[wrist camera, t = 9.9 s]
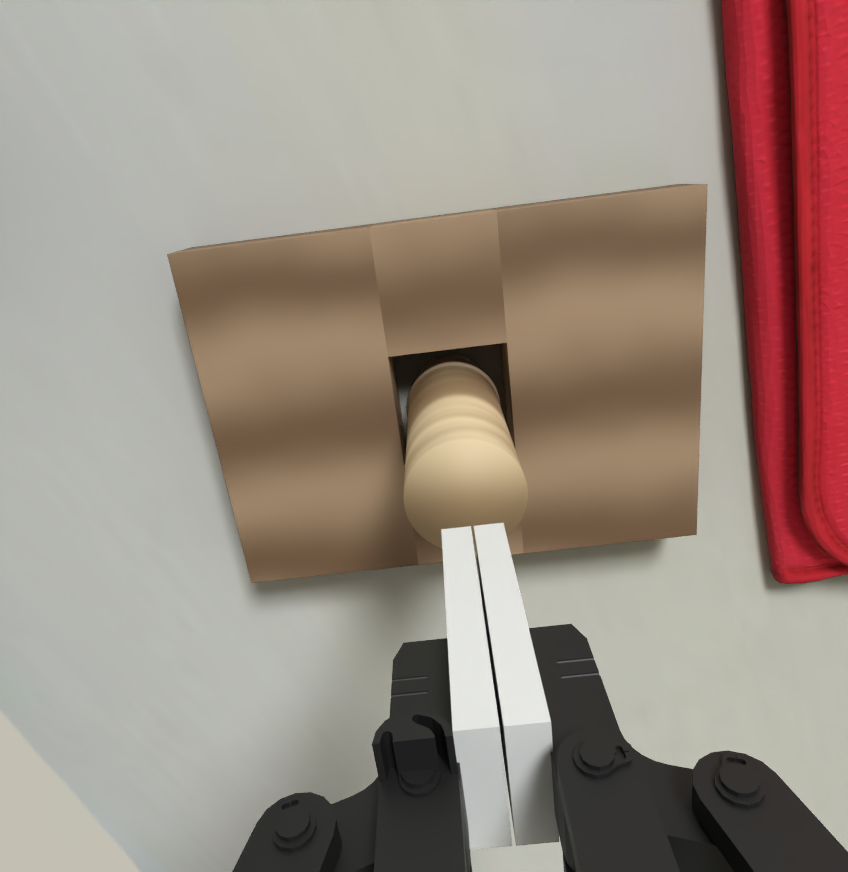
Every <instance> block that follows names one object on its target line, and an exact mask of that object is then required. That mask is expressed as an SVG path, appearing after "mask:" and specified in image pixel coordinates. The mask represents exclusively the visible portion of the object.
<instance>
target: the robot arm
mask: <svg viewBox="0 0 848 872" xmlns="http://www.w3.org/2000/svg"><path fill="white" fill-rule="evenodd" d="M441 533H442V550H443V568H444V586H445V604H446V622H447V638H446V639H436V640H426V641H416V642H407V643H403V645H402V646H401V648H400V650H399V651H398V653H397V655H396V656H395V658H394V660H393V672H392V689H391V705H390V718H389V719H387V720H386V721H384V723H383V724H382V725H381V726H380V727H379V729H378V730H377V731H376V733H375V736H374V739H373V743H372V746H373V751H374V756H375V761H376V766H377V771H378V777H377V779H376V780H375V781H374V782H373V783H372V784H371V785H369V786H368V787H367V788H366V789H364V790H363V791H361V792H359V793H357V794H355V795H353V796H351V797H349V798H346V799H344V800H341V801H339V802H336V803H334V804H330V803H329V802H328V801H327V800H326V799H325V798H324V797H323V796H320V795H317V794H314V793H311V792H309V793H295V794H292V795H290V796H287V797H285V798H282V799H280V800H279V801H277V802H276V803H275V804H273V805H272V806H271V807H270V808H268V809H267V810H266V811H265V813H264V814H263V815H262V817H261V818H260V820H259V821H258V822H257V824H256V826H255V828H254V830H253V832H252V834H251V836H250V838H249V840H248V842H247V844H246V846H245V848H244V850H243V852H242V854H241V856H240V858H239V860H238V862H237V864H236V866H235V868H234V870H233V872H472V867H471V858H470V850H472V849H483V848H494V847H506V846H512V839H511V830H510V821H509V811H508V802H507V792H506V783H505V773H504V764H505V771H506V778H507V785H508V792H509V799H510V806H511V813H512V820H513V828H514V835H515V842H516V846H517V845H528V844H539V843H550V842H559V836H560V841H561V846H562V850H563V862H564V872H848V852H847V851H846V850H845V849H844V847H843V846H842V845H841V844H840V843H839V842H838V841H837V840H836V839H835V838H834V836H833V835H832V834H831V833H830V832H829V831H828V830H827V829H826V828H825V827H824V825H823V824H822V823H821V822H820V821H819V820H818V819H817V818H816V817H815V816H814V814H813V813H812V812H811V811H810V810H809V809H808V808H807V807H806V806H805V805H804V803H803V802H802V801H801V800H800V799H799V798H798V797H797V796H796V795H795V794H794V792H793V791H792V790H791V789H790V788H789V787H788V786H787V785H786V784H785V783H784V781H783V780H782V779H781V778H780V777H779V776H778V775H777V774H776V773H775V772H774V771H773V770H771V769H770V768H769V767H768V766H767V765H765V764H764V763H763V762H762V761H759V760H757V759H755V758H753V757H751V756H748V755H746V754H743V753H737V752H732V751H721V752H713V753H710V754H708V755H706V756H704V757H703V758H701V759H699V761H698V762H697V764H696V766H695V767H694V769H689V768H683V767H678V766H672V765H667V764H663V763H660V762H656V761H653V760H651V759H649V758H647V757H645V756H643V755H641V754H640V753H639V752H637V751H636V750H635V749H633V748H632V746H631V745H630V744H629V743H628V742H627V741H626V740H625V739H624V737H623V735H622V733H621V731H620V729H619V727H618V724H617V721H616V718H615V715H614V713H613V710H612V707H611V704H610V702H609V699H608V696H607V693H606V691H605V688H604V685H603V682H602V679H601V677H600V676H599V671H598V668H597V666H596V663H595V660H594V658H593V655H592V652H591V649H590V646H589V643H588V641H587V638H586V637H584V636H583V635H582V634H581V633H580V632H579V631H578V630H577V629H576V628H575V627H574V626H573V625H572V624H566V625H556V626H547V627H537V628H529V627H528V623H527V619H526V615H525V611H524V606H523V602H522V598H521V594H520V590H519V585H518V581H517V577H516V573H515V569H514V565H513V560H512V556H511V552H510V548H509V544H508V540H507V535H506V531H505V527H504V523H495V524H486V525H477V526H474V534H475V543H476V552H477V561H478V570H479V579H478V572H477V565H476V558H475V551H474V544H473V537H472V530H471V526H468V527H459V528H450V529H441ZM479 580H480V586H479ZM480 589H481V593H480ZM481 598H482V600H481ZM501 743H502V745H501ZM502 750H503V754H502ZM503 757H504V764H503Z"/></svg>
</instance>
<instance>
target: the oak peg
mask: <svg viewBox="0 0 848 872" xmlns="http://www.w3.org/2000/svg"><path fill="white" fill-rule="evenodd" d="M406 409H407V417H408V428H407V445H406V462H405V479H404V496H403V499H404V507H405V512H406V514H407V517H408V519H409V521H410V523H411V525H412V526H413V527H414V529H415V530H416V531H417V532H418V533H419V534H420V535H421V536H422V537H423V538H424V539H426V540H427V541H428V542H430V543H432V544H434V545H436V546H438V547H440V548H442V533H441V529H450V528H459V527H468V526H471V530H472V537H473V544H474V551H476V543H475V534H474V526H477V525H486V524H495V523H504V527H505V531H506V535H507V536H509V535H510V534H511V533H512V532H513V531H514V529H515V528H516V527H517V526H518V524H519V523H520V521H521V520H522V518H523V515H524V513H525V510H526V507H527V501H528V488H527V482H526V479H525V476H524V473H523V470H522V467H521V464H520V461H519V459H518V456H517V453H516V450H515V447H514V444H513V441H512V438H511V436H510V433H509V430H508V427H507V424H506V421H505V418H504V415H503V413H502V410H501V407H500V398H499V394H498V391H497V389H496V387H495V384H494V383H493V381H492V380H491V378H490V377H489V376H488V375H487V374H486V373H485V372H484V371H482V370H481V369H479V367H478V366H477V365H476V364H475V363H474V362H473V361H471V360H470V359H468V358H466V357H464V356H461V355H456V354H446V355H441V356H438V357H436V358H434V359H432V360H431V361H429V362H428V363H427V364H426V365H425V366H424V367H423V368H422V370H421V371H420V373H419V375H418V378H417V379H416V380H415V381H414V383H413V385H412V386H411V388H410V391H409V394H408V398H407V407H406Z"/></svg>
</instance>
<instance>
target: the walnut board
mask: <svg viewBox="0 0 848 872" xmlns="http://www.w3.org/2000/svg"><path fill="white" fill-rule="evenodd" d="M706 212H707V184H676V185H668V186H661V187H653V188H645V189H638V190H630V191H622V192H615V193H607V194H599V195H591V196H584V197H576V198H568V199H561V200H553V201H545V202H538V203H530V204H522V205H515V206H507V207H499V208H492V209H484V210H476V211H469V212H461V213H453V214H445V215H438V216H430V217H422V218H415V219H407V220H399V221H392V222H384V223H376V224H369V225H361V226H353V227H346V228H338V229H330V230H322V231H315V232H307V233H299V234H292V235H284V236H276V237H269V238H261V239H253V240H246V241H238V242H230V243H223V244H215V245H207V246H199V247H192V248H188V249H184V250H181V251H177V252H174V253H170V254H167V256H168V259H169V263H170V267H171V271H172V275H173V279H174V283H175V287H176V291H177V294H178V298H179V302H180V306H181V310H182V314H183V318H184V322H185V326H186V329H187V333H188V337H189V341H190V345H191V349H192V353H193V357H194V361H195V364H196V368H197V372H198V376H199V380H200V384H201V388H202V392H203V396H204V399H205V403H206V407H207V411H208V415H209V419H210V423H211V427H212V431H213V435H214V438H215V442H216V446H217V450H218V454H219V458H220V462H221V466H222V470H223V473H224V477H225V481H226V485H227V489H228V493H229V497H230V501H231V505H232V508H233V512H234V516H235V520H236V524H237V528H238V532H239V536H240V540H241V543H242V547H243V551H244V555H245V559H246V563H247V567H248V571H249V575H250V578H251V582H252V583H254V582H263V581H273V580H282V579H291V578H300V577H310V576H319V575H328V574H337V573H347V572H356V571H365V570H375V569H384V568H393V567H402V566H412V565H421V564H430V563H439V562H443V550H442V548H440V547H438V546H436V545H434V544H432V543H430V542H428V541H427V540H426V539H424V538H423V537H422V536H421V535H420V534H419V533H418V532H417V531H416V530H415V529H414V527H413V526H412V525H411V523H410V521H409V519H408V517H407V514H406V512H405V507H404V499H403V496H404V479H405V462H406V445H407V441H405V435H404V428H403V421H402V414H401V407H400V400H399V393H398V386H397V379H396V373H395V366H394V359H393V356H400V355H408V354H416V353H425V352H433V351H441V350H449V349H458V348H466V347H474V346H482V345H491V344H499V343H501V354H502V366H503V378H504V390H505V402H506V414H507V427H508V430H509V433H510V436H511V438H512V441H513V444H514V447H515V450H516V453H517V456H518V459H519V461H520V464H521V467H522V470H523V473H524V476H525V479H526V482H527V488H528V501H527V507H526V510H525V513H524V515H523V518H522V520H521V521H520V523H519V524H518V526H517V527H516V528H515V529H514V531H513V532H512V533H511V534H510V535H509V536H507V540H508V544H509V548H510V552H511V555H513V554H523V553H532V552H541V551H550V550H560V549H569V548H578V547H587V546H597V545H606V544H615V543H624V542H634V541H643V540H652V539H662V538H671V537H680V536H689V535H696V534H697V502H698V470H699V437H700V405H701V373H702V341H703V309H704V277H705V244H706ZM475 558H477V552H476V551H475Z"/></svg>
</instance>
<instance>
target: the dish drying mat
mask: <svg viewBox="0 0 848 872" xmlns="http://www.w3.org/2000/svg"><path fill="white" fill-rule="evenodd" d="M721 7H722V24H723V42H724V59H725V71H726V82H727V93H728V100H729V108H730V117H731V126H732V139H733V153H734V167H735V180H736V194H737V209H738V224H739V237H740V251H741V264H742V277H743V295H744V312H745V327H746V341H747V353H748V363H749V373H750V382H751V392H752V412H753V428H754V440H755V447H756V455H757V464H758V472H759V479H760V487H761V494H762V502H763V509H764V517H765V524H766V532H767V541H768V547H769V554H770V559H771V564H772V574H773V577H774V578H775V580H777V581H778V582H779V583H784V584H792V583H808V582H814V581H819V580H823V579H827V578H831V577H836V576H841V575H846V574H848V0H721Z"/></svg>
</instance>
